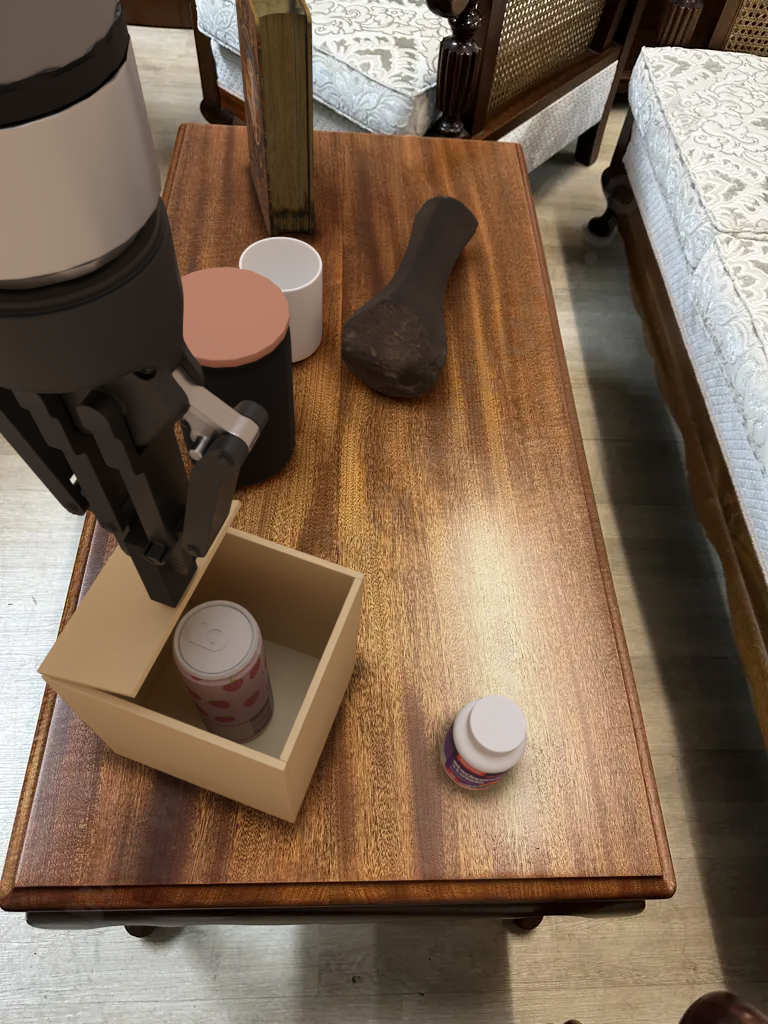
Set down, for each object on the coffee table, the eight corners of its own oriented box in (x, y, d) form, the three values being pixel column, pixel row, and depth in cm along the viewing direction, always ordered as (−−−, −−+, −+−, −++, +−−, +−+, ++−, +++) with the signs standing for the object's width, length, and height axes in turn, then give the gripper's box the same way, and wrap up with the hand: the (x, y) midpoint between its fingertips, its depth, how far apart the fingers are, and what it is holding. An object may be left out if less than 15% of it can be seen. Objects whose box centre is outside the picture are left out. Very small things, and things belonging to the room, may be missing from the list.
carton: (114, 752, 56) (40, 677, 41) (193, 609, 63) (153, 499, 48) (293, 823, 54) (283, 771, 39) (354, 668, 61) (365, 573, 46)
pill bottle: (437, 786, 56) (457, 756, 48) (442, 718, 59) (461, 679, 51) (505, 796, 56) (537, 767, 48) (507, 727, 59) (537, 689, 51)
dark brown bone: (398, 424, 78) (448, 285, 95) (459, 369, 70) (501, 229, 88) (315, 365, 75) (383, 232, 92) (369, 301, 67) (432, 169, 84)
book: (248, 165, 97) (228, -56, 76) (288, 161, 98) (279, -58, 77) (271, 243, 89) (255, 19, 68) (314, 238, 90) (312, 17, 69)
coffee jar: (218, 394, 76) (192, 251, 60) (312, 426, 74) (310, 287, 59) (168, 471, 70) (126, 335, 55) (269, 506, 69) (255, 377, 54)
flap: (40, 674, 41) (35, 671, 40) (153, 497, 47) (150, 493, 47) (135, 698, 37) (130, 694, 37) (242, 504, 44) (239, 500, 44)
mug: (209, 361, 78) (194, 286, 69) (219, 308, 82) (207, 231, 74) (320, 368, 79) (319, 294, 70) (324, 315, 83) (324, 239, 74)
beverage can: (204, 676, 59) (172, 597, 46) (274, 673, 60) (262, 594, 47) (200, 746, 56) (164, 683, 43) (274, 743, 57) (260, 679, 44)
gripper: (-270, 224, 19) (32, 602, 39) (172, 366, 18) (253, 684, 38) (-82, 90, 23) (106, 495, 43) (293, 196, 22) (308, 566, 41)
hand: (174, 583), depth 40 cm, fingers closed
